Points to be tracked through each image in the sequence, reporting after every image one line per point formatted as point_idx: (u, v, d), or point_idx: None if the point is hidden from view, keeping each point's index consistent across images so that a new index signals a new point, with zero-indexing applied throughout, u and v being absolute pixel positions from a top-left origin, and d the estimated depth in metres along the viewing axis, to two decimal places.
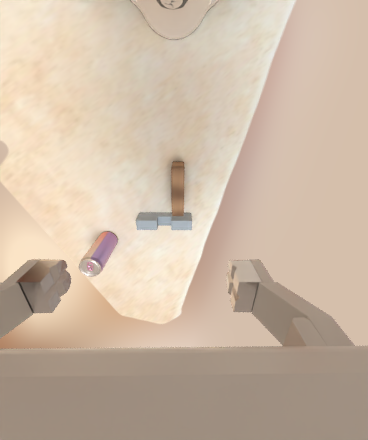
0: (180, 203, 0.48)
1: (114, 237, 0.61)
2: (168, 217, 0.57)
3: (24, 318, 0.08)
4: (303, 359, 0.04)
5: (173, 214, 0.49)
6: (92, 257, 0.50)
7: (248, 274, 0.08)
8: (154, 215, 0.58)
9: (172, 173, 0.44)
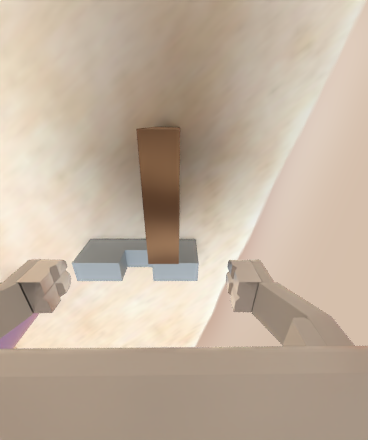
0: (169, 232, 0.17)
1: None
2: None
3: (24, 318, 0.08)
4: (303, 359, 0.04)
5: (152, 260, 0.19)
6: None
7: (248, 274, 0.08)
8: (118, 246, 0.27)
9: (141, 145, 0.14)
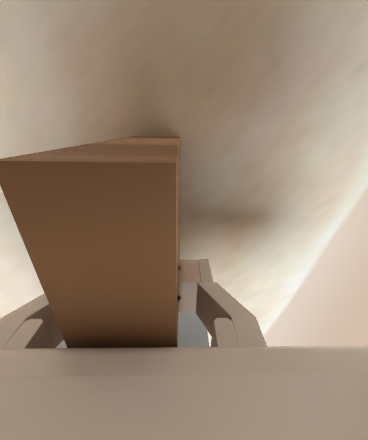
0: None
1: None
2: None
3: None
4: (303, 359, 0.04)
5: None
6: None
7: (190, 274, 0.08)
8: None
9: (27, 221, 0.04)
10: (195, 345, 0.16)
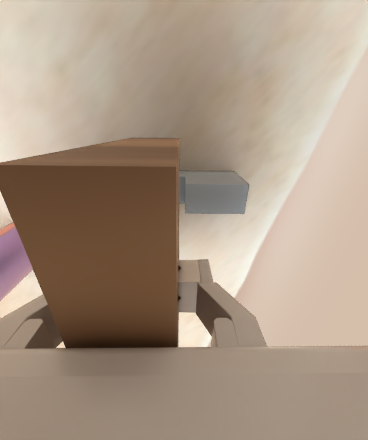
0: None
1: None
2: None
3: None
4: (303, 359, 0.04)
5: None
6: None
7: (190, 274, 0.08)
8: None
9: (27, 225, 0.03)
10: (232, 179, 0.19)
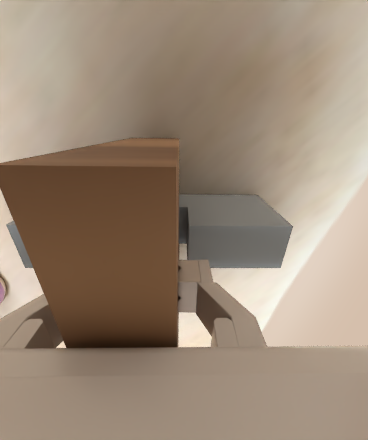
0: None
1: None
2: None
3: None
4: (303, 359, 0.04)
5: None
6: None
7: (190, 274, 0.08)
8: None
9: (27, 224, 0.04)
10: (260, 212, 0.13)
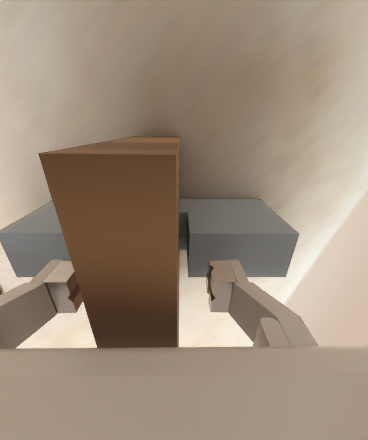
0: None
1: None
2: None
3: (49, 318, 0.08)
4: (303, 359, 0.04)
5: None
6: None
7: (224, 274, 0.08)
8: None
9: (62, 200, 0.05)
10: (264, 218, 0.12)
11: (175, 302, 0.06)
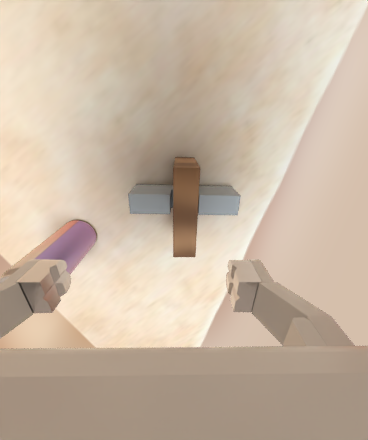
0: (189, 234, 0.25)
1: (89, 230, 0.33)
2: None
3: (24, 318, 0.08)
4: (303, 359, 0.04)
5: (176, 254, 0.26)
6: None
7: (248, 274, 0.08)
8: (164, 188, 0.30)
9: (175, 177, 0.22)
10: (229, 191, 0.29)
11: (197, 206, 0.23)
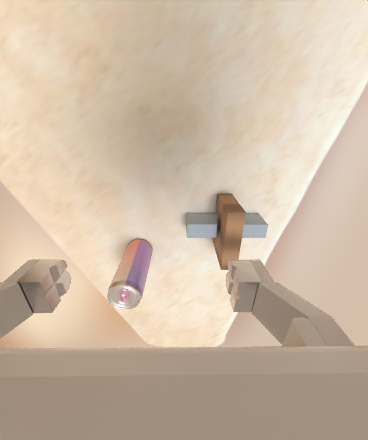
0: (234, 254, 0.35)
1: (149, 247, 0.44)
2: None
3: (24, 318, 0.08)
4: (303, 359, 0.04)
5: (223, 267, 0.36)
6: (129, 282, 0.32)
7: (248, 274, 0.08)
8: (209, 216, 0.41)
9: (228, 218, 0.32)
10: (259, 220, 0.39)
11: (241, 236, 0.34)
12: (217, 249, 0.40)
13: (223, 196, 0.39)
